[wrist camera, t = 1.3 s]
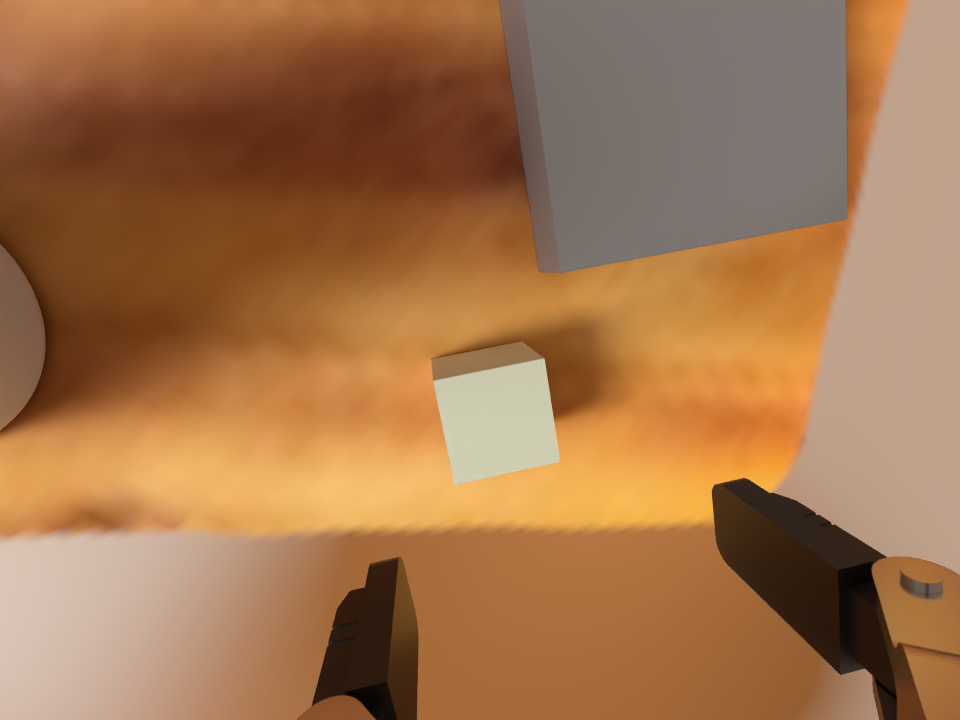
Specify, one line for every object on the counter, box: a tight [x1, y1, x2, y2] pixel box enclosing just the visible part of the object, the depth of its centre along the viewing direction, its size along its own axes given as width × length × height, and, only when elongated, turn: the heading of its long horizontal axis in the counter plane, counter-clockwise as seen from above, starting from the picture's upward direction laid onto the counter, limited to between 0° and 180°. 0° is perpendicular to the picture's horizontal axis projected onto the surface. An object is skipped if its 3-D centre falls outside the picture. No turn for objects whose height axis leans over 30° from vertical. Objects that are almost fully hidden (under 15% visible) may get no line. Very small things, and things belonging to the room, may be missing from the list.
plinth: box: [499, 0, 847, 273], centre depth 22 cm, size 14×14×4 cm
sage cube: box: [431, 341, 560, 485], centre depth 23 cm, size 5×5×5 cm
